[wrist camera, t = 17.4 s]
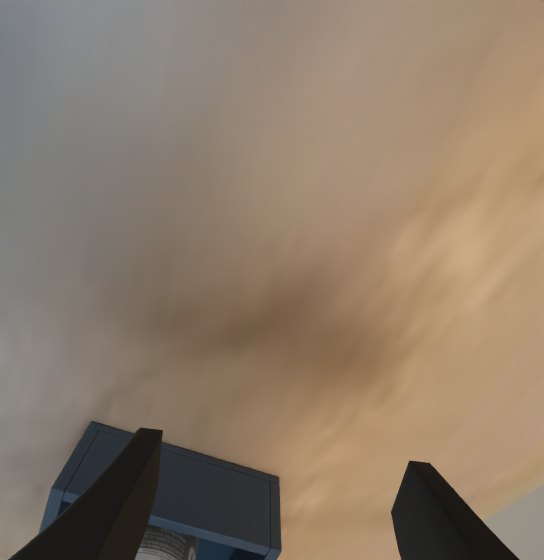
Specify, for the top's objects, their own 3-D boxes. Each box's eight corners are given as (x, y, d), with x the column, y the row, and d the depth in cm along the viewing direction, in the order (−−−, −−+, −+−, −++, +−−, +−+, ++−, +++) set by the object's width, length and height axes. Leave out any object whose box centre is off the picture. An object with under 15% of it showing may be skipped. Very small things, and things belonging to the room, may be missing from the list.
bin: (58, 532, 25) (16, 613, 21) (91, 420, 22) (50, 488, 18) (227, 576, 27) (219, 659, 23) (279, 477, 24) (281, 551, 20)
